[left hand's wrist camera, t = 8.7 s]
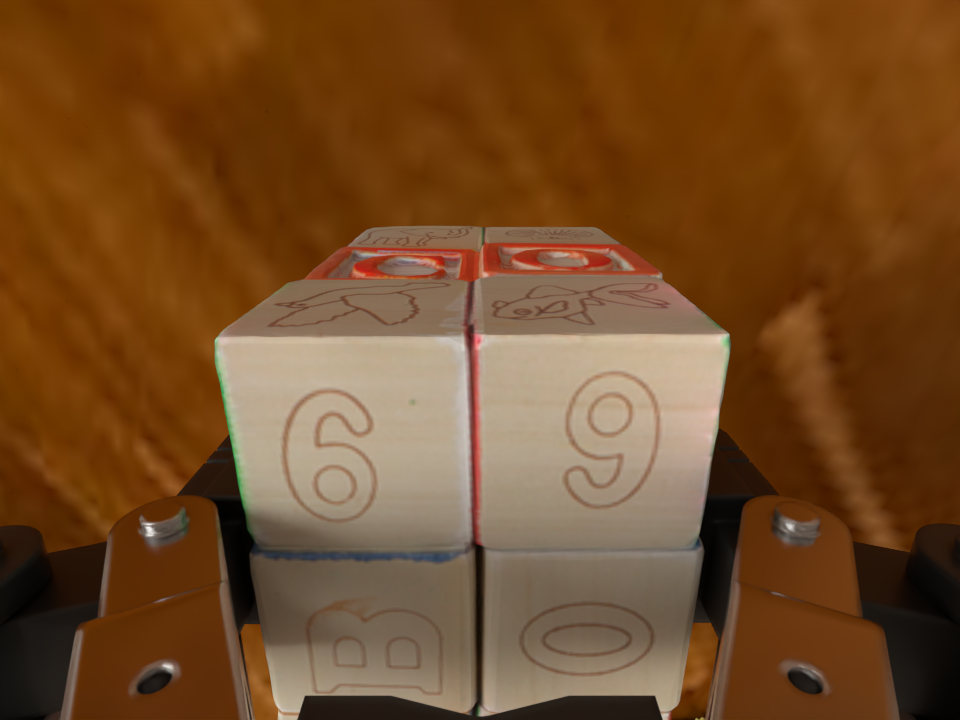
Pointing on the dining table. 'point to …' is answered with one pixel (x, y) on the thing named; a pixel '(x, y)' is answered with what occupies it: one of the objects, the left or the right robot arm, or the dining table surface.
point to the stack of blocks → (475, 468)
